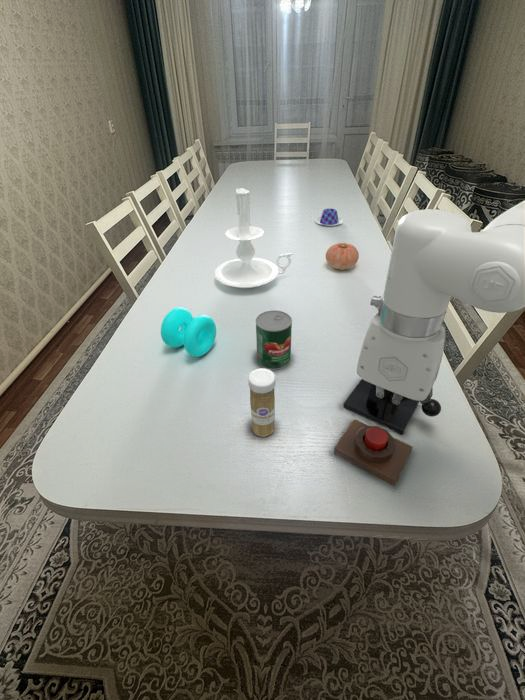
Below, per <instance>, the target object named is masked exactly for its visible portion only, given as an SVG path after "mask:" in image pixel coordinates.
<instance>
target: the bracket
mask: <svg viewBox="0 0 525 700" xmlns="http://www.w3.org/2000/svg"><path fill="white" fill-rule="evenodd" d="M392 394H393V393H392ZM377 401H378V397H377V395H376V390H375V389H374V387H373V386H372V384H371V383H369V382H367V381H365V380H363V379H362V378H360V380H359V381H358V383H357V384H356V385H355V387H354V388H353V390H352V391H351V393H349V395H348V396H347V398H346V399H345V401H344V402H343V408H344V409H347V410H349V411H350V412H353V413H355V414H357V415H360V416H361V417H364V418H366V419H369V420H370V421H372V422H375V423H377V424H379V425H381V426H383V427H384V428H387V429H390V430H392V431H394V432H395V433H398V434H400V435H403V434H404V432H405V431H406V428H407V427H408V425H409V423H410V421H411V420H412V418H413V414H414V413H415V411H416V409H417V407H418V405H419V403H420V402H419V401H417V400H412V399H411V400H407V401H403V402H400V405H399V408H398V411H397V413H396V415H395V416H394V415H391V416H390V418H389V419H388V421H385V420H384V419H383V418H379V417H377V416H378V412H379V409H377V408H376V405H377ZM383 417H384V416H383Z"/></svg>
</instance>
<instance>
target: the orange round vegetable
mask: <svg viewBox="0 0 525 700" xmlns="http://www.w3.org/2000/svg"><path fill="white" fill-rule="evenodd" d="M359 258H360V253H359V251H358V249H357V248H356V247H355V246H354V245H352V244H350V243H347V242H338V243H334V244H332V245H331V246H329V247H328V248H327V250H326V252H325V260H326V262H327V264H328V265H329V266H330V267H331V268H333V269H336V270H339V271H340V270H342V271H343V270H348V269H351V268H353V267H354V266H356V264H357V263H358V261H359Z"/></svg>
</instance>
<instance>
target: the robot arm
mask: <svg viewBox="0 0 525 700" xmlns="http://www.w3.org/2000/svg"><path fill="white" fill-rule="evenodd" d="M392 242H393V244H392V248H391V253H390V259H389V263H388V267H387V268H388V269H387V275H386V279H385V284H384V289H383V295H379V296H377V295H372V297H371V298H370V306H372V307H375V308H376V309H377V311H378V312H377V313H376V314H375V315H373V316H372V318H371V320H370V322H369V324H368V327H367V329H366V332H365V336H364V338H363V342H362V346H361V348H360V353H359V357H358V361H357V364H356V365H357V366H356V374H357V376H358V377H359V378H360V379H363V380H365V381H367V382H369V383H371V384H372V386H373V387H374V389H375V390H376V395H377V397H378V401H377V405H376V408H377V409H379V412H378V416H377V417H379V418H383V419H384V420H385V421H388V419H389V418H390V416H391V415H394V416H395V415H396V413H397V411H398V408H399V405H400V402H403V401H407V400H411V399H412V400H417V401H424V402H429V401H430V400H431V399H432V398H433V395H434V394H433V389H434V388H433V387H434V384H435V382H436V380H437V377H438V375H439V371H440V367H441V363H442V358H443V354H444V350H445V342H446V328H445V326H444V325H443V323H444V320H445V317H446V314H447V311H448V307H449V305H450V301H451V299H452V298H454V299H456V300H458V301H460V302H462V303H465V304H467V305H469V306H471V307H473V308H476V309H478V310H482V311H485V312H489V313H498V314H505V313H506V314H507V313H512V312H513V313H514V312H516V311H519V310H521V309H523V308H525V200H523V201H520V202H519V203H517V204H516V205H513V206H512V207H511V208H509V209H507V210H505V211H504V212H502V213H501V214H499V215H498V216H496V217H495V218H494V219H493V220H491V221H490V222H489V223H488V224H487V225H485V227H484V228H483V229H482V230H481V231H474V232H473V231H472V226H471V223H470V221H469V220H468V218H466V217H465V216H464V215H461V214H459V213H456V212H453V211H449V210H445V209H444V210H443V209H436V208H434V209H433V208H429V209H427V208H426V209H419V210H413V211H409V212H408V213H406V214H405V215H403V216H402V217H401V218H400V220H399V222H398V223H397V225H396V228H395V232H394V237H393V241H392ZM392 393H393V394H392ZM383 416H384V417H383Z"/></svg>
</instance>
